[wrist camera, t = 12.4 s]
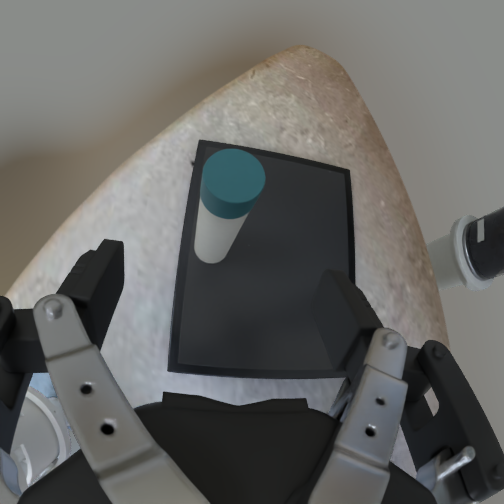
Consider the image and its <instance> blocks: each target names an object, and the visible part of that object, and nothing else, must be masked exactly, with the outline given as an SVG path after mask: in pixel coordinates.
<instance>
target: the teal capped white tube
mask: <svg viewBox="0 0 504 504" xmlns="http://www.w3.org/2000/svg"><path fill="white" fill-rule="evenodd" d="M264 185H265V172H264V169H263V167H262V165H261V163H260V162H259V161H258V160H257V159H256V158H255V157H254V156H253V155H251V154H250V153H248V152H246V151H243V150H239V149H224V150H221V151H218V152H216V153H215V154H213V155H212V156H211V157H209V159H208V160H207V161H206V163H205V165H204V168H203V173H202V180H201V187H200V202H199V210H198V218H197V226H196V235H195V244H194V249H195V253H196V255H197V256H198V258H199V259H201V260H202V261H204V262H206V263H217V262H219V261H221V260H222V259H224V257H225V256H226V254H227V253H228V251H229V249H230V247H231V245H232V243H233V241H234V239H235V238H236V236H237V234H238V232H239V230H240V228H241V226H242V225H243V223H244V221H245V219H246V217H247V215H248V213H249V212H250V210H251V209H252V208H253V206H254V205H255V203H256V201H257V199H258V197H259V196H260V194H261V192H262V190H263V188H264Z"/></svg>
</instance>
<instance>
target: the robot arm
mask: <svg viewBox="0 0 504 504" xmlns="http://www.w3.org/2000/svg"><path fill="white" fill-rule="evenodd" d="M462 244H463V251H464V256H465V259H466V262H467V265H468V267H469V269H470V271H471V272H472V274H473V275H474V276H475V277H476V278H477V279H478V280H480V281H486V280H489V279H490V278H494V277H497V276H500V275H504V207H502V208H500V209H498V210H496V211H494V212H492V213H490V214H488V215H486V216H484V217H482V218H480V219H477V220H475V221H472V222H469V223H468V224H466V226H465V228H464V230H463V235H462ZM123 286H124V244H123V242H122V241H116V240H109V239H104V240H103V241H102V243H101V244H100V246H99V247H98V249H97V250H96V251H95V250H89V251H88V252H86V253H85V254H83V255H82V256H80V258H79V259H78V261H77V262H76V264H75V266H73V268H72V269H71V272H69V274H68V275H67V277H66V278H65V280H64V282H63V283H62V285H61V286H60V288H59V289H58V291H57V292H56V294H51V295H47V296H45V297H43V298H41V299H40V300H39V301H37V303H36V304H35V306H34V308H33V309H13V307H12V304H11V302H10V300H9V299H8V298H6V297H4V296H0V504H479V503H480V502H482V501H484V500H486V499H487V498H489V497H491V496H493V495H494V494H496V493H498V492H499V491H501V490H502V489H504V454H503V451H502V449H501V447H500V444H499V442H498V440H497V438H496V436H495V434H494V431H493V429H492V427H491V425H490V423H489V421H488V419H487V417H486V415H485V413H484V411H483V409H482V407H481V405H480V403H479V402H478V400H477V398H476V396H475V394H474V392H473V390H472V389H471V387H470V385H469V383H468V381H467V380H466V378H465V376H464V375H463V373H462V371H461V369H460V368H459V366H458V364H457V363H456V361H455V359H454V358H453V356H452V354H451V353H450V351H449V350H448V349H447V347H445V346H444V345H443V344H442V343H440V342H438V341H435V340H428V341H426V342H425V344H424V345H423V347H422V348H421V349H418V348H414V347H410V346H407V343H406V341H405V339H404V338H403V337H402V336H401V335H400V334H399V333H398V332H396V331H394V330H392V329H389V328H384V327H383V325H382V323H381V322H380V320H379V318H378V317H377V315H376V313H375V312H374V310H373V308H371V305H370V303H369V302H368V301H367V299H366V297H365V295H364V294H363V292H362V291H361V290H360V289H359V288H358V287H357V286H356V285H354V284H353V283H351V281H350V279H349V278H348V276H347V274H346V273H345V272H344V271H343V270H335V269H325V270H324V272H323V274H322V277H321V279H320V282H319V284H318V287H317V289H316V292H315V295H314V297H313V300H312V314H313V316H314V319H315V321H316V324H317V327H318V329H319V332H320V335H321V337H322V340H323V342H324V345H325V348H326V350H327V353H328V356H329V359H330V361H331V364H332V367H333V369H334V372H346V373H347V377H346V378H345V380H344V381H343V384H342V386H341V388H340V390H339V392H338V394H337V396H336V399H335V401H334V403H333V405H332V407H331V409H330V411H329V413H328V414H326V413H323V412H321V411H318V410H314V409H311V408H308V404H307V400H306V398H295V399H270V400H266V401H261V402H257V403H252V404H247V405H241V406H236V405H232V404H228V403H224V402H220V401H217V400H213V399H210V398H206V397H203V396H199V395H188V394H179V393H170V392H163V398H162V402H155V403H150V404H145V405H142V406H139V407H137V408H134V409H133V408H132V407H131V405H130V404H129V402H128V400H127V399H126V397H125V396H124V394H123V392H122V391H121V389H120V387H119V386H118V384H117V382H116V380H115V379H114V377H113V375H112V373H111V372H110V370H109V368H108V366H107V364H106V362H105V361H104V359H103V357H102V355H101V353H100V350H101V347H102V344H103V341H104V339H105V336H106V333H107V330H108V327H109V324H110V322H111V319H112V316H113V314H114V311H115V308H116V306H117V303H118V301H119V298H120V296H121V293H122V290H123ZM47 372H49V375H50V378H51V381H52V384H53V386H54V389H55V392H56V394H57V397H58V399H59V402H60V404H61V407H62V409H63V411H64V414H65V416H66V418H67V421H68V423H69V425H70V427H71V429H72V431H73V434H74V436H75V438H76V440H77V442H78V444H79V446H80V448H81V449H79V450H78V451H77V452H76V453H74V454H73V455H72V456H70V457H69V458H68V459H66V460H65V461H64V462H62V463H61V464H60V465H59V466H57V467H56V468H55V469H53V470H52V471H51V472H49V473H48V474H46V475H45V476H44V477H42V478H41V479H40V480H38V481H37V482H36V483H34V484H33V485H31V486H30V487H29V488H27V489H26V490H25V491H24V492H23V493H22V492H21V490H20V487H19V480H18V469H17V466H16V464H15V462H14V460H13V459H12V458H11V456H10V452H11V447H12V443H13V438H14V434H15V430H16V427H17V423H18V419H19V416H20V412H21V409H22V405H23V402H24V399H25V396H26V393H27V390H28V387H29V384H30V381H31V378H32V375H33V373H47ZM431 387H432V389H433V391H434V393H435V395H436V397H437V399H438V401H439V409H438V412H437V413H436V415H435V416H434V417H433V415H432V412H431V410H430V408H429V406H428V403H427V401H426V399H425V397H424V394H425V393H426V392H427V391H428V390H429V389H430V388H431ZM399 425H401V428H402V431H403V433H404V436H405V439H406V442H407V445H408V448H409V451H410V453H411V456H412V459H413V462H414V465H415V468H416V472H417V475H416V479H414V478H413V477H411V476H410V475H409V474H407V473H406V472H404V471H403V470H402V469H400V468H399V467H398V466H396V465H395V464H393V463H392V462H391V461H390V457H391V454H392V451H393V447H394V444H395V440H396V436H397V433H398V429H399Z"/></svg>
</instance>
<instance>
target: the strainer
mask: <svg viewBox="0 0 504 504" xmlns="http://www.w3.org/2000/svg"><path fill="white" fill-rule="evenodd" d="M69 426H70V425H69V423H68V421H67V418H66V416H65V414H64V411H63V409H62V407H61V404H60V402H59V399H58V398H56V397H50V398H47V397H45V396H44V395H43V394H42V393H40V392H39V391H37V390H36V389H34V388H32V387H30V386H29V387H28V390H27V393H26V396H25V399H24V402H23V405H22V409H21V412H20V416H19V419H18V423H17V427H16V430H15V434H14V438H13V443H12V447H11V452H10V456H11V458H12V459H13V460H14V462H15V464H16V466H17V469H18V480H19V487H20V490H21V492H22V493H23V492H24V491H25V490H26V489H27V488H28V485H29V484H30V483H31V482H32V481H33V480H34V479H35V478H36V477H37V476H40V477H39V478H38V479H37V480H36V481H35V482H34V483H36V482H37V481H38V480H40V479H41V478H42V477H44V476H45V475H46V474H48V473H49V472H51V471H52V470H53V469H55V468H56V467H57V466H59V465H60V464H61V463H62V462H64V461H65V460H66V459H68V458H69V457H70V454H71V439H70V435H69V431H68V428H67V427H69ZM58 456H59V459H58V458H57V457H58ZM34 483H33V484H34ZM33 484H32V485H33Z"/></svg>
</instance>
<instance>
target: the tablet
mask: <svg viewBox="0 0 504 504" xmlns="http://www.w3.org/2000/svg"><path fill="white" fill-rule="evenodd" d="M224 149H239V150H243V151H246V152H248V153H250V154H251V155H253V156H254V157H255V158H256V159H257V160H258V161H259V162H260V163H261V165H262V167H263V169H264V172H265V185H264V188H263V190H262V192H261V194H260V196H259V197H258V199H257V201H256V203H255V205H254V206H253V208H252V209H251V210H250V212H249V213H248V215H247V217H246V219H245V221H244V223H243V225H242V226H241V228H240V230H239V232H238V234H237V236H236V238H235V239H234V241H233V243H232V245H231V247H230V249H229V251H228V253H227V254H226V256H225V257H224V259H222V260H221V261H219V262H217V263H206V262H204V261H202V260H201V259H199V258H198V256H197V255H196V253H195V249H194V244H195V235H196V226H197V218H198V210H199V202H200V187H201V180H202V173H203V168H204V165H205V163H206V161H207V160H208V159H209V157H211V156H212V155H213V154H215V153H216V152H218V151H221V150H224ZM325 269H335V270H343V271H344V272H345V273H346V274H347V276H348V278H349V279H350V281H351V283H353V284H354V285H355V243H354V221H353V204H352V191H351V179H350V170H348V169H344V168H340V167H337V166H333V165H329V164H325V163H321V162H316V161H312V160H308V159H304V158H299V157H295V156H290V155H285V154H281V153H276V152H271V151H266V150H260V149H255V148H249V147H244V146H238V145H232V144H226V143H219V142H213V141H206V140H199V143H198V148H197V152H196V157H195V163H194V168H193V173H192V178H191V184H190V189H189V195H188V201H187V207H186V213H185V219H184V226H183V232H182V239H181V246H180V253H179V260H178V268H177V276H176V284H175V292H174V301H173V311H172V321H171V331H170V343H169V355H168V370H167V371H168V372H176V373H185V374H195V375H206V376H219V377H235V378H258V379H319V378H342V377H347V373H346V372H334V369H333V367H332V364H331V361H330V359H329V356H328V353H327V350H326V348H325V345H324V342H323V340H322V337H321V335H320V332H319V329H318V327H317V324H316V321H315V319H314V316H313V314H312V300H313V297H314V295H315V292H316V289H317V287H318V284H319V282H320V279H321V277H322V274H323V272H324V270H325Z"/></svg>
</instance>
